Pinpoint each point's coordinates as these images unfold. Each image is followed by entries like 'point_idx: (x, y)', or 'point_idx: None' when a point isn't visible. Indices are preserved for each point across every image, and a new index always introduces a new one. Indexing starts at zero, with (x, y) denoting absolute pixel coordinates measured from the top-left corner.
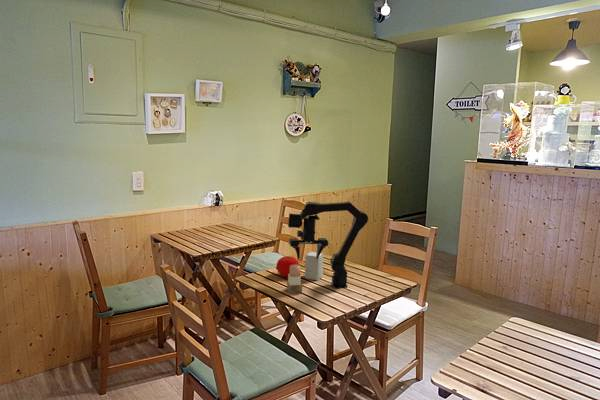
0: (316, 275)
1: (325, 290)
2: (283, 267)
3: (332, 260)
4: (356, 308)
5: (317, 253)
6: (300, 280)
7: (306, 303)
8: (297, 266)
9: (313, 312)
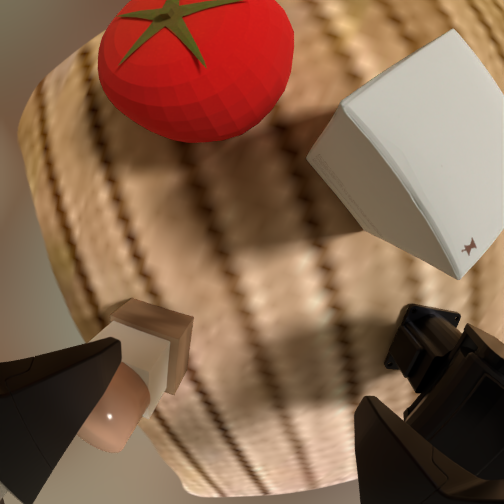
0: (370, 229)
1: (319, 378)
2: (122, 112)
3: (441, 452)
4: (315, 488)
5: (373, 474)
6: (155, 404)
7: (176, 437)
8: (102, 439)
9: (180, 471)
